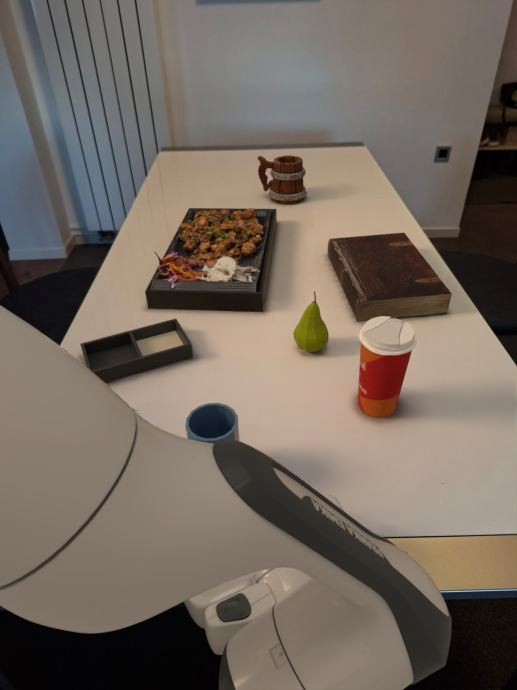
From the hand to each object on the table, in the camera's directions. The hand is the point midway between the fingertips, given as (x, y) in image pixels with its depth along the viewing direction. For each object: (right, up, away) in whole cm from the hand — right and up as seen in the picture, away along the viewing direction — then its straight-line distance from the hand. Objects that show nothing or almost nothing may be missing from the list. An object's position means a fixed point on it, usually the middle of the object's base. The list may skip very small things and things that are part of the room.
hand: (240, 498), depth 60 cm
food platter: (-7, +39, +62) cm, 74 cm away
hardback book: (+30, +33, +51) cm, 68 cm away
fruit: (+12, +18, +33) cm, 39 cm away
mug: (+10, +64, +94) cm, 115 cm away
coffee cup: (+21, +9, +20) cm, 31 cm away
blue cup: (-4, +1, +10) cm, 11 cm away
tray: (-20, +16, +32) cm, 41 cm away
